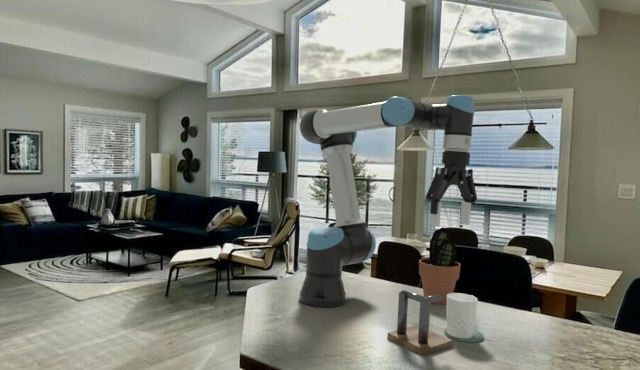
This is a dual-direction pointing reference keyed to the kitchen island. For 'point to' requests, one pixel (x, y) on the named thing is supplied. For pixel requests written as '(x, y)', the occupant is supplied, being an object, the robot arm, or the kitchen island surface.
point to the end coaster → (475, 338)
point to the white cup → (461, 315)
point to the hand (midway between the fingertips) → (450, 225)
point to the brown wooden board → (411, 342)
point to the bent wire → (422, 318)
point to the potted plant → (440, 266)
